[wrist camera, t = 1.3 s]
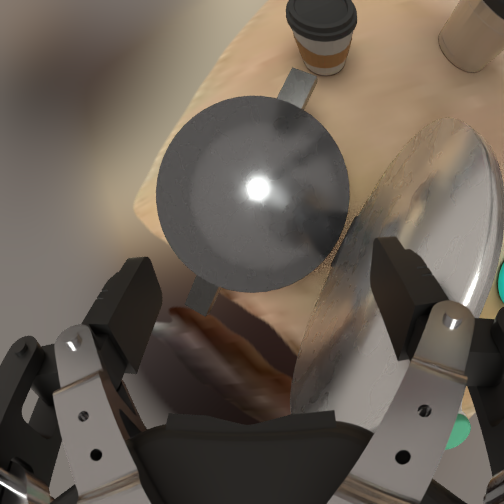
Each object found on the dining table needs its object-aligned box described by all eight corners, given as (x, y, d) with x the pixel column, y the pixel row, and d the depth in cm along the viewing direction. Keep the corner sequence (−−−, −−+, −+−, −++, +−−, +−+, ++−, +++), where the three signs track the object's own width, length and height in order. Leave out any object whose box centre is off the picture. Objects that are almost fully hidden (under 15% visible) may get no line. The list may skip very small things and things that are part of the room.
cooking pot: (286, 320, 46) (273, 356, 35) (166, 255, 49) (123, 269, 38) (378, 134, 39) (396, 110, 27) (244, 78, 42) (218, 44, 31)
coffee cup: (362, 69, 38) (373, 16, 23) (316, 91, 40) (310, 43, 26) (331, 31, 38) (329, -27, 23) (286, 52, 40) (269, -2, 25)
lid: (293, 329, 34) (319, 341, 34) (274, 511, 11) (328, 523, 11) (386, 144, 29) (412, 159, 29) (531, 68, 6) (577, 121, 6)
